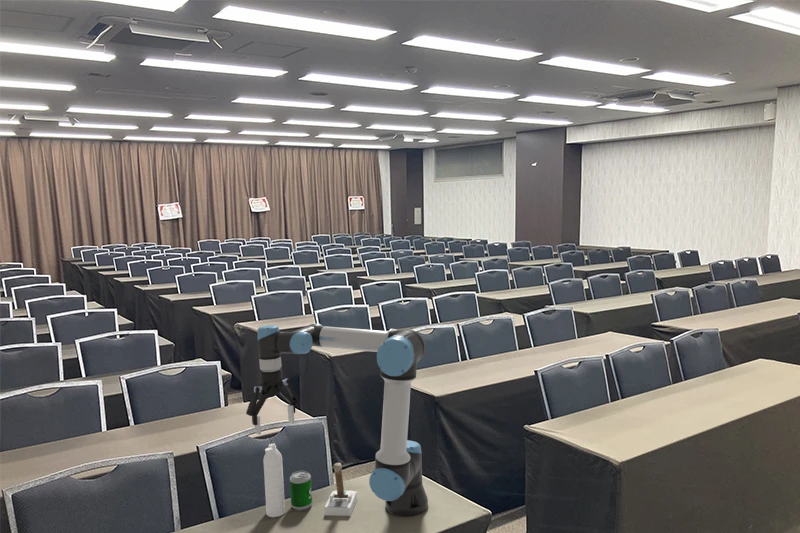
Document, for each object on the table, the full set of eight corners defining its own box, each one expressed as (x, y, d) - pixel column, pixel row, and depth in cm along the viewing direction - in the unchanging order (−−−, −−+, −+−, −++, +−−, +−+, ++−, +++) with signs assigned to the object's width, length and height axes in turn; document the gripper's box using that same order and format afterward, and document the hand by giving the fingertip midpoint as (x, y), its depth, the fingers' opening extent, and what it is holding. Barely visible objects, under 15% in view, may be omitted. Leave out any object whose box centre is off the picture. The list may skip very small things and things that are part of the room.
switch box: (357, 499, 209) (356, 487, 208) (350, 516, 197) (349, 503, 196) (333, 498, 210) (332, 486, 209) (325, 515, 198) (324, 502, 197)
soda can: (307, 512, 200) (306, 479, 199) (287, 511, 202) (286, 478, 201) (315, 502, 208) (313, 470, 207) (296, 500, 209) (294, 469, 208)
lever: (348, 495, 204) (345, 462, 200) (347, 500, 202) (343, 467, 198) (335, 495, 205) (331, 462, 201) (333, 500, 202) (330, 467, 198)
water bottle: (269, 508, 204) (265, 440, 202) (287, 508, 204) (283, 440, 202) (262, 521, 195) (258, 450, 194) (281, 521, 195) (277, 450, 193)
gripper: (295, 360, 212) (299, 416, 214) (233, 375, 195) (237, 435, 197) (306, 363, 207) (310, 420, 208) (243, 378, 190) (248, 440, 191)
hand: (275, 428), depth 202 cm, fingers open, 13 cm apart
